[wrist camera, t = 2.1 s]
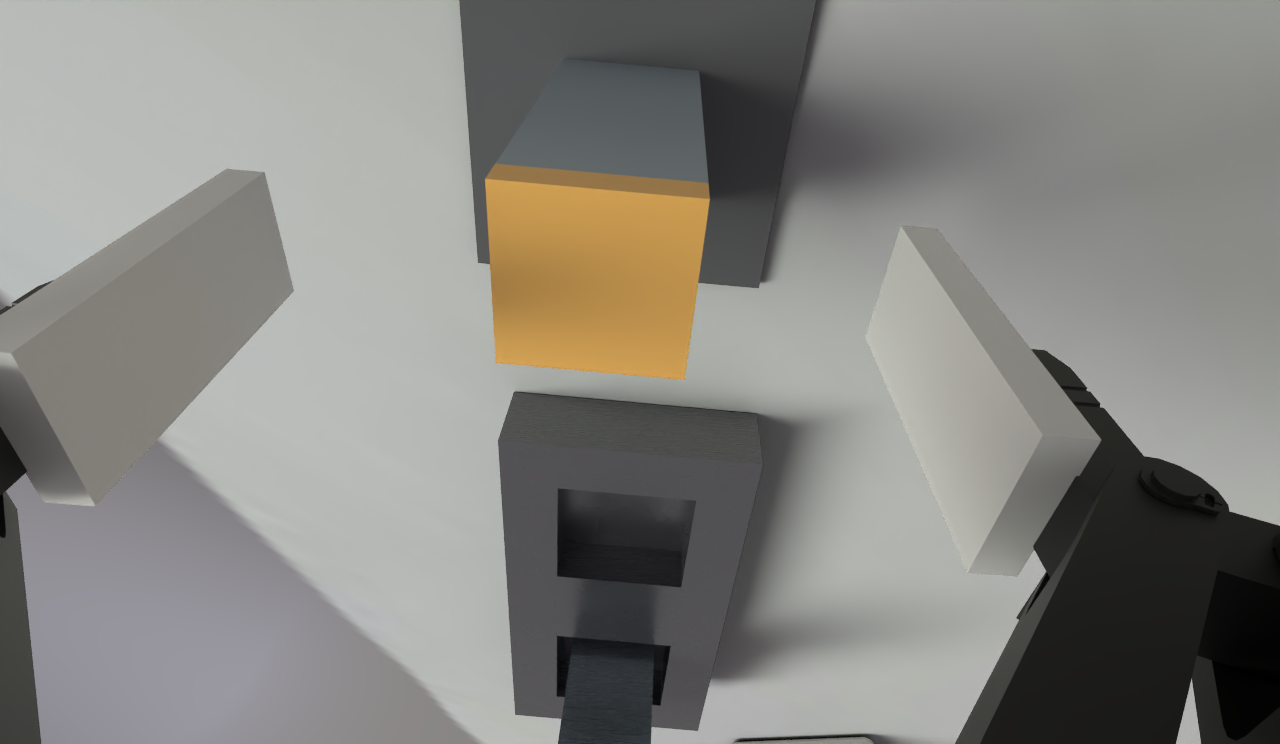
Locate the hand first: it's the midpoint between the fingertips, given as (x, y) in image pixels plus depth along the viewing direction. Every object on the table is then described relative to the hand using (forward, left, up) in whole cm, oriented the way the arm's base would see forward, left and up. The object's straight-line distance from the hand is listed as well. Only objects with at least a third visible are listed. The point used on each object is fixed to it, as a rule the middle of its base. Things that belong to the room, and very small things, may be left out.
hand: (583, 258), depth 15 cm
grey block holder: (-1, +21, -9) cm, 23 cm away
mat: (0, 0, -9) cm, 9 cm away
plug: (0, 0, -9) cm, 9 cm away
